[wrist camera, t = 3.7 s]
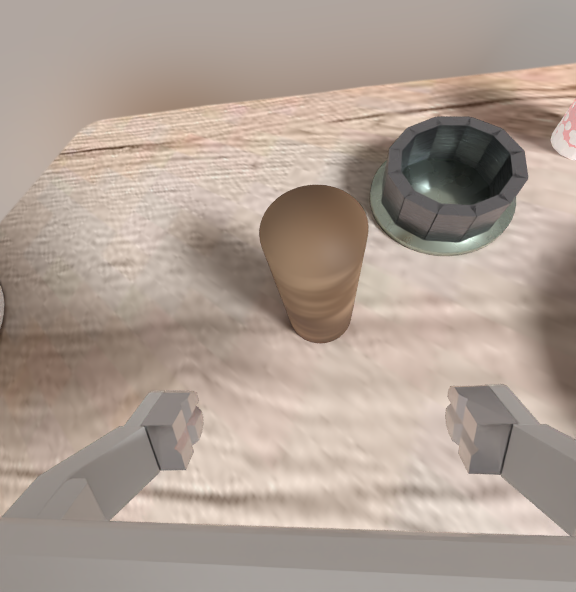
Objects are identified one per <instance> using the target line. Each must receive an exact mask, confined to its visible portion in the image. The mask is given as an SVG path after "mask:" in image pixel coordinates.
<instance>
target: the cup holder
mask: <svg viewBox="0 0 576 592" xmlns="http://www.w3.org/2000/svg"><path fill="white" fill-rule="evenodd" d="M527 180H528V172H527V165H526V158H525V151H524V150H523V149H522V148H521V147H520V146H519V145H518V144H517V143H516V142H515V141H514V140H513V139H512V138H511V137H510V136H509V135H508V134H507V133H506V131H505V130H504V129H502V128H500V127H497V126H494V125H492V124H489V123H486V122H484V121H481V120H478V119H476V118H473V117H471V118H470V117H434V118H431V119H429V120H426V121H424V122H421V123H418V124H416V125H413V126H411V127H408V128H407V129H406V130H405V131H404V132H403V133H402V134H401V135H400V137H399V138H398V139H397V140H396V141H395V142H394V143H393V145H392V146H391V147H390V148H389V153H388V157H387V160H386V161H385V162H384V163H383V164H382V165H381V167H380V168H379V169H378V171H377V172H376V174H375V176H374V179H373V182H372V186H371V191H370V204H371V209H372V212H373V215H374V217H375V219H376V221H377V223H378V224H379V225H380V227H381V228H382V229H383V230H384V231H385V232H386V234H388V235H389V236H390V237H391V238H392V239H394V240H395V241H397V242H398V243H400V244H401V245H403V246H405V247H407V248H409V249H412V250H415V251H418V252H421V253H425V254H429V255H437V256H455V255H462V254H467V253H471V252H474V251H477V250H479V249H481V248H483V247H485V246H487V245H489V244H490V243H492V242H493V241H494V240H495V239H497V238H498V237H499V236H500V235H501V234H502V233H503V231H504V230H505V229H506V228H507V226H508V225H509V223H510V222H511V220H512V218H513V215H514V212H515V207H516V195H517V194H518V193H519V191H520V190H521V188H522V187H523V185H524V184H525V183H526V181H527Z"/></svg>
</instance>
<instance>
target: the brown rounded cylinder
mask: <svg viewBox="0 0 576 592" xmlns="http://www.w3.org/2000/svg"><path fill="white" fill-rule="evenodd" d="M259 237H260V243H261V246H262V249H263V251H264V254H265V257H266V259H267V262H268V264H269V267H270V270H271V272H272V275H273V278H274V280H275V283H276V285H277V288H278V291H279V293H280V296H281V298H282V301H283V304H284V306H285V309H286V311H287V314H288V317H289V319H290V322H291V324H292V327H293V328H294V330H295V331H296V333H297V334H298V335H299V336H301V337H302V338H303V339H305V340H307V341H310V342H314V343H327V342H331V341H333V340H335V339H337V338H339V337H340V336H341V335H342V334H343V333H344V332H345V331H346V330H347V328H348V326H349V324H350V321H351V316H352V311H353V306H354V301H355V296H356V291H357V286H358V281H359V276H360V272H361V267H362V262H363V257H364V252H365V247H366V242H367V237H368V220H367V217H366V214H365V212H364V210H363V208H362V206H361V205H360V204H359V202H358V201H357V200H356V199H355V198H353V197H352V196H351V195H350V194H348V193H346V192H345V191H343V190H340V189H338V188H335V187H331V186H327V185H307V186H302V187H298V188H295V189H292V190H290V191H288V192H286V193H284V194H283V195H281V196H280V197H278V198H277V199H276V200H275V201H274V202H273V203H272V204H271V205H270V206H269V207H268V209H267V210H266V212H265V214H264V216H263V218H262V221H261V224H260V230H259Z"/></svg>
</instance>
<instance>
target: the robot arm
mask: <svg viewBox="0 0 576 592" xmlns="http://www.w3.org/2000/svg"><path fill="white" fill-rule="evenodd" d="M3 314H4V296H3V292H2V289H1V286H0V328H1V324H2V320H3ZM447 397H448V399H449V400H450V402H451V404H450V405H449V406H448V407H447V408H446V414H445V419H446V426H447V430H448V433H449V435H450V437H451V439H452V441H454V442H455V443H456V444H458V445H459V451H458V454H459V456H460V458H461V460H462V462H463V464H464V466H465V468H466V470H467V472H468V473H469V474H494V475H501V477H502V478H504V479H505V480H506V481H507V482H508V483H509V484H511V485H512V486H513V487H514V488H515V489H516V490H518V491H519V492H520V493H521V494H522V495H523V496H525V497H526V498H527V499H528V500H529V501H530V502H532V503H533V504H534V505H535V506H536V507H537V508H538V509H540V510H541V511H542V512H543V513H544V514H545V515H547V516H548V517H549V518H550V519H551V520H552V521H554V522H555V523H556V524H557V525H558V526H559V527H561V528H562V529H563V530H564V531H565V532H566V533H568V534H569V535H570V536H544V535H514V534H485V533H455V532H424V531H394V530H363V529H333V528H304V527H274V526H244V525H214V524H184V523H154V522H124V521H110V520H111V519H112V518H113V517H114V516H115V515H116V514H117V513H118V512H119V511H120V510H121V509H122V508H123V507H124V506H125V505H126V504H127V503H128V502H129V501H130V500H131V499H133V498H134V497H135V496H136V495H137V494H138V493H139V492H140V491H141V490H142V489H143V488H144V487H145V486H146V485H147V484H148V483H149V482H150V481H151V480H152V479H153V478H154V477H155V476H156V475H157V474H158V473H160V470H186V469H187V466H188V464H189V462H190V459H191V457H192V455H193V453H194V450H193V447H192V445H194V444H195V443H196V442H197V441H198V440H199V439H200V436H201V434H202V429H203V414H202V411H201V410H200V409H199V408H198V407H197V406H196V405H197V403H198V401H199V399H198V395H197V392H195V391H151V392H149V393H148V394H147V396H146V397H145V398H144V400H143V401H142V403H141V404H140V405H139V407H138V408H137V409H136V411H135V412H134V413H133V415H132V416H131V417H130V419H129V420H128V421H127V423H126V424H125V425H124V426H119V427H117V428H116V429H114V430H113V431H111V432H109V433H108V434H106V435H104V436H103V437H101V438H100V439H98V440H96V441H95V442H93V443H92V444H90V445H88V446H87V447H85V448H83V449H82V450H80V451H79V452H77V453H75V454H74V455H72V456H70V457H69V458H67V459H66V460H64V461H62V462H61V463H59V464H57V465H56V466H54V467H53V468H51V469H49V470H48V471H46V472H44V473H43V474H41V475H40V476H38V477H37V478H36V479H35V480H34V482H33V483H32V484H31V485H30V486H29V487H28V488H27V489H26V490H25V492H24V493H23V494H22V495H21V496H20V497H19V498H18V499H17V500H16V502H15V503H14V504H13V505H12V506H11V507H10V508H9V509H8V510H7V512H6V513H5V514H4V515H3V516H2V517H0V592H576V440H575V439H573V438H571V437H570V436H568V435H566V434H564V433H562V432H560V431H558V430H556V429H554V428H552V427H551V426H549V425H547V424H540V423H539V422H538V421H537V420H536V419H535V417H534V416H533V415H532V414H531V413H530V412H529V410H528V409H527V408H526V407H525V406H524V405H523V404H522V402H521V401H520V400H519V399H518V398H517V397H516V396H515V394H514V393H513V392H512V391H511V390H510V389H509V388H508V386H506V385H504V384H493V385H475V386H450V388H449V390H448V396H447Z"/></svg>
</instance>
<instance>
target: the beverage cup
mask: <svg viewBox="0 0 576 592" xmlns="http://www.w3.org/2000/svg"><path fill="white" fill-rule="evenodd" d="M551 143H552V146H553V148H554V149H555V150H556V151H557V152H558V153H559V154H560V155H562V156H564V157H566V158H568V159H571V160H576V99H575V100H574V102H573V103H572V105H571V106H570V108H569V109H568V111H567V112H566V114H565V115H564V117H563V118H562V120H561V121H560V123H559V124H558V126H557V127H556V129H555V130H554V132H553V133H552V136H551Z"/></svg>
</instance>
